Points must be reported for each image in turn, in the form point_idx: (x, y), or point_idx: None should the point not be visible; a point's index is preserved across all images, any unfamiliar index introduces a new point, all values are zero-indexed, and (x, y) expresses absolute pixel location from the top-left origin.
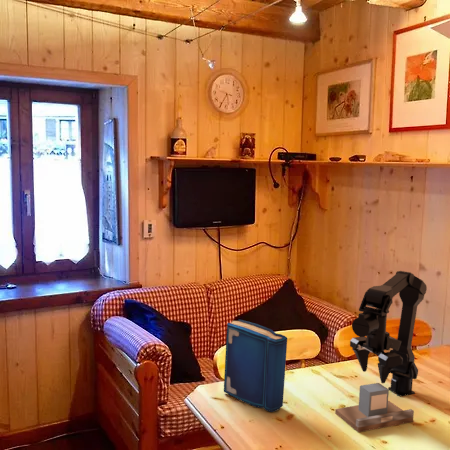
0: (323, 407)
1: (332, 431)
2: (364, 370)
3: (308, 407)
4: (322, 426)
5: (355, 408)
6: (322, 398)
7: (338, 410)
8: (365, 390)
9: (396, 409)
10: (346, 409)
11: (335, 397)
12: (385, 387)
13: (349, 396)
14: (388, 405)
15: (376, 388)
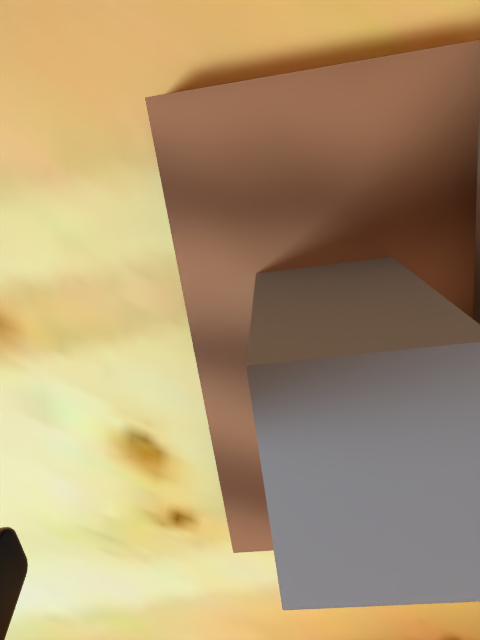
0: (151, 552)
1: (419, 614)
2: (14, 571)
3: (142, 616)
4: (356, 633)
5: (249, 439)
6: (34, 514)
7: (256, 546)
8: (396, 595)
9: (338, 120)
10: (253, 498)
11: (19, 438)
12: (425, 354)
13: (3, 343)
14: (249, 155)
15: (410, 481)
